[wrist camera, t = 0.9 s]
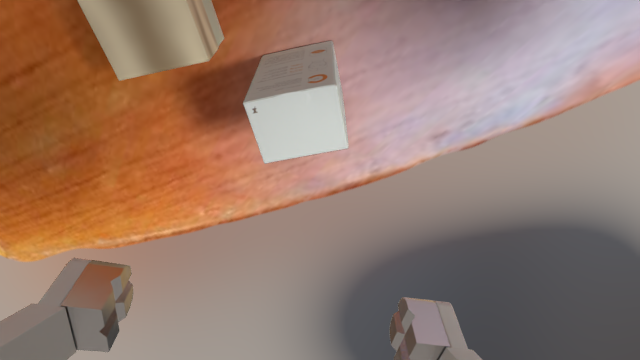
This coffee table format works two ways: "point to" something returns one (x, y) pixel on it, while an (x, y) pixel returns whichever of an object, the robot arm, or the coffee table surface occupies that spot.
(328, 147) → the small box
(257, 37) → the coffee table surface
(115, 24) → the tower top block
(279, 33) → the coffee table surface
